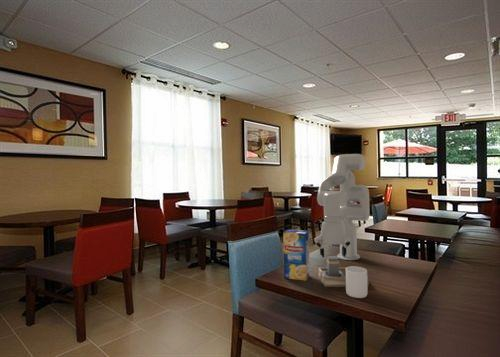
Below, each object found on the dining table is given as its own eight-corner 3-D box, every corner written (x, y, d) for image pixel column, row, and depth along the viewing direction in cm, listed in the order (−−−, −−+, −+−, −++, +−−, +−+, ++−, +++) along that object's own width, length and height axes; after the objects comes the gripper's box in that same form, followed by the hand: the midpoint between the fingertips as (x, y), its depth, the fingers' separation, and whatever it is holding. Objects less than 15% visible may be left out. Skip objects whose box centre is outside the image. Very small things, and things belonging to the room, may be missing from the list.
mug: (345, 286, 129) (345, 262, 129) (366, 288, 126) (365, 264, 126) (346, 297, 118) (345, 271, 117) (368, 299, 115) (367, 273, 115)
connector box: (318, 275, 143) (318, 267, 143) (358, 275, 142) (357, 267, 142) (324, 287, 129) (324, 277, 129) (368, 286, 128) (368, 277, 128)
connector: (326, 277, 138) (326, 255, 138) (336, 277, 138) (336, 255, 138) (329, 280, 134) (328, 258, 134) (339, 280, 134) (339, 258, 133)
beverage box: (306, 280, 137) (305, 233, 136) (283, 277, 141) (283, 232, 141) (309, 275, 143) (308, 230, 143) (287, 273, 147) (287, 229, 147)
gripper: (348, 217, 139) (349, 253, 139) (312, 218, 139) (313, 254, 140) (353, 220, 131) (354, 258, 132) (314, 221, 132) (316, 259, 133)
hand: (333, 256), depth 136 cm, fingers open, 9 cm apart
